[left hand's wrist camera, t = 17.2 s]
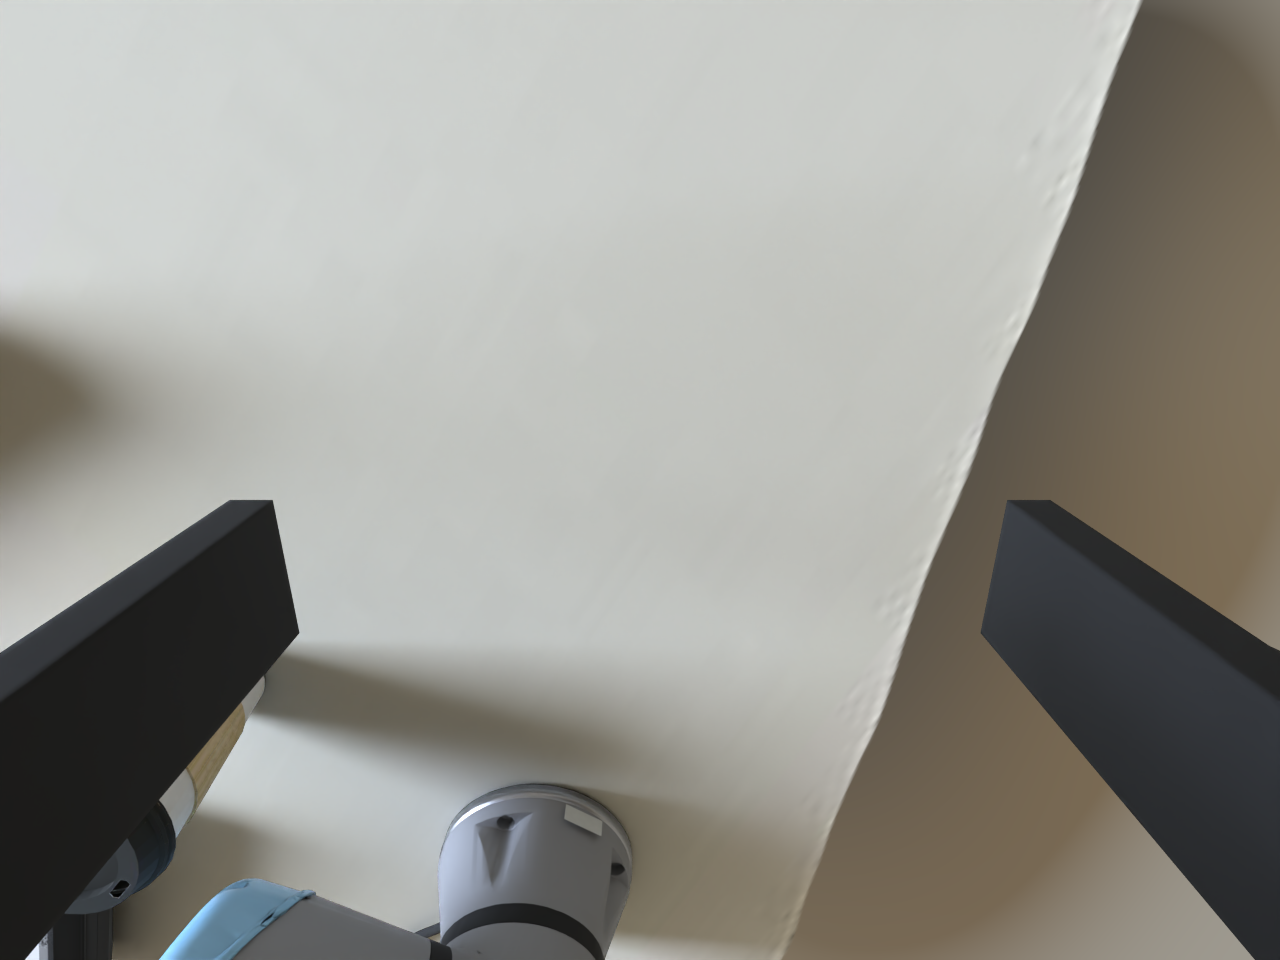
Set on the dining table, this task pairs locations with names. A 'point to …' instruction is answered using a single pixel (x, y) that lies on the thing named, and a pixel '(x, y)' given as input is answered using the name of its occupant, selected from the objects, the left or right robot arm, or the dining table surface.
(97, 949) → the electronic device
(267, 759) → the dining table surface
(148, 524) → the dining table surface
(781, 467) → the dining table surface
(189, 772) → the coffee cup
